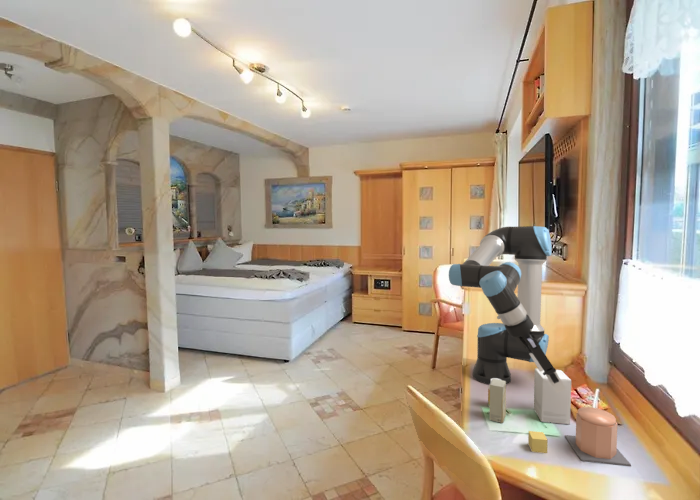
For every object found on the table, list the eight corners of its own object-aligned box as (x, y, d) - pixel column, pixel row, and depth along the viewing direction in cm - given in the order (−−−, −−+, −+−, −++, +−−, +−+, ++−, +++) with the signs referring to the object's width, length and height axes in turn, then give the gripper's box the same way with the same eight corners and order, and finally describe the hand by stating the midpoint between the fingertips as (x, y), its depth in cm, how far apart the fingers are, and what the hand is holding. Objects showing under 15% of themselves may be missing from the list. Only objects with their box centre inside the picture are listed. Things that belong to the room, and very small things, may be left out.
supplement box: (571, 425, 118) (572, 380, 117) (541, 422, 120) (542, 378, 119) (560, 411, 127) (562, 369, 126) (533, 409, 129) (534, 367, 128)
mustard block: (528, 443, 108) (528, 430, 108) (542, 445, 107) (543, 432, 107) (532, 452, 104) (532, 438, 104) (547, 453, 103) (547, 440, 103)
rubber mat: (564, 436, 112) (564, 434, 112) (608, 440, 109) (608, 439, 109) (581, 460, 100) (581, 459, 100) (630, 466, 98) (631, 464, 97)
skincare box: (502, 423, 119) (503, 387, 118) (488, 420, 122) (489, 384, 121) (506, 415, 124) (506, 380, 124) (492, 412, 127) (492, 378, 126)
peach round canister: (571, 438, 110) (572, 405, 109) (605, 441, 108) (606, 408, 108) (584, 456, 101) (586, 421, 100) (621, 460, 99) (622, 424, 99)
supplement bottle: (487, 408, 129) (488, 382, 129) (488, 402, 134) (488, 376, 134) (504, 411, 127) (504, 384, 127) (504, 404, 132) (504, 378, 132)
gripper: (494, 313, 122) (527, 366, 123) (515, 340, 98) (556, 406, 98) (515, 302, 121) (548, 356, 121) (541, 327, 96) (583, 394, 97)
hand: (552, 379), depth 110 cm, fingers open, 13 cm apart
